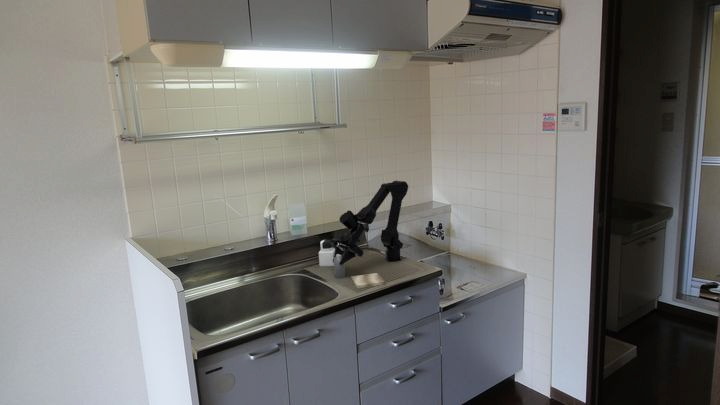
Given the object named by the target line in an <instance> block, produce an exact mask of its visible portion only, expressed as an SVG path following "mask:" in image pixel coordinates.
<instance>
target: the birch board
mask: <svg viewBox="0 0 720 405" xmlns="http://www.w3.org/2000/svg"><path fill="white" fill-rule="evenodd" d="M350 279H351V281H352V283H353V284H354V285H355V287H356V288H357V289H364V288H369V287H371V288H372V287H377V285H378V286H383V285H382V284H386V282H385V280H384V279H383V278H382V277H381V275H380V274H378V273H377V272H375V273H367V274H360V275H359V274H358V275H351V276H350Z"/></svg>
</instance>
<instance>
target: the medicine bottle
mask: <svg viewBox="0 0 720 405" xmlns="http://www.w3.org/2000/svg"><path fill="white" fill-rule="evenodd" d="M331 240H332V239H323V240H321V241H320V243H319V244H320V250H319V251H318V264H319V267H334V262H333V258H334V254H335V247H334V246H333V245H332V244H330V241H331Z"/></svg>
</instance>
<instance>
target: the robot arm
mask: <svg viewBox="0 0 720 405" xmlns="http://www.w3.org/2000/svg"><path fill="white" fill-rule="evenodd" d="M408 190H409V184H408V183H407V181H403V180H393V181H392V182H386V183H385V182H384V183H381V185H380V188H379V189H378V190H377V192H376V193H375V195H373V197H372V199H371V200H370V202H369V203H368V204H367V205H366V206H364V207H362V208H361V209H360V210H359V211H358V212H357V213H355V214H354V213H353V211H351V210H349V209H348V210H347V211H346V212H344V213H343V214H341V215H340V217H339V222H340V223H341V224H342V225H343V226H344V227H345V228H346V229H347V230H349V231H348V232H347V231H346V232H343V233H341V232H339V231H336V232H335V234H334V236H333V238H332V239H330V240H331V241H330V244H332V245H333V248H335V254H334V257H336V255H337V254H339V255H341V256H343V257H342V259H341V261H340V263H339V264H340V265H342V264H344V265H345V263H347V262H348V261H350V260H352V259H354V258H356V257H359V258H362V257H363V255H364V253H365V252H364V250H363V249H362V248H361V247H360V246H359V245H357V244H358V243H360V242H361V240H360V239H361V237H362V235H363V234H364V233H365V232H366V233H369V228H368V225H371V224H373V222H374V220H375V218H376V217H377V212H378V209H379V208H380V207H381V206H382V204H383V202H384V201H385V199H386V198H387V197H388V195H391V204H390V208H389V209H390V210H389V213H388V219H387V226H386V227H384V228H385V229H382V230H381V232H380V233H381V234H380V237H379V238H380V241H381V243H382V245H383V247H384V248H385V251H384V252H385V253H384V254H385V260H387V261H388V262H390V263H391V262H397V261H402V260H403V259H402V258H401V249H403V245H404V243H403V242H401V240H399V239H400V238H399V236H400V234H399V232H398V225H399V219H400V214H401V209H402V203H403V200H404V198H405V197H406V196H407V193H408ZM364 224H365V225H364ZM333 262H334V258H333Z"/></svg>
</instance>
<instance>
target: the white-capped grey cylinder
mask: <svg viewBox="0 0 720 405" xmlns="http://www.w3.org/2000/svg"><path fill="white" fill-rule="evenodd" d="M342 257H343V255H342V256H341V255H339V254H337V255H336V257H334V266H333V267H334V278H335V279H344V278H345V277H346V267H345V266H346V265H345V263H344V264H342V265H340V264H339V263H340V261H341V259H342Z"/></svg>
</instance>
